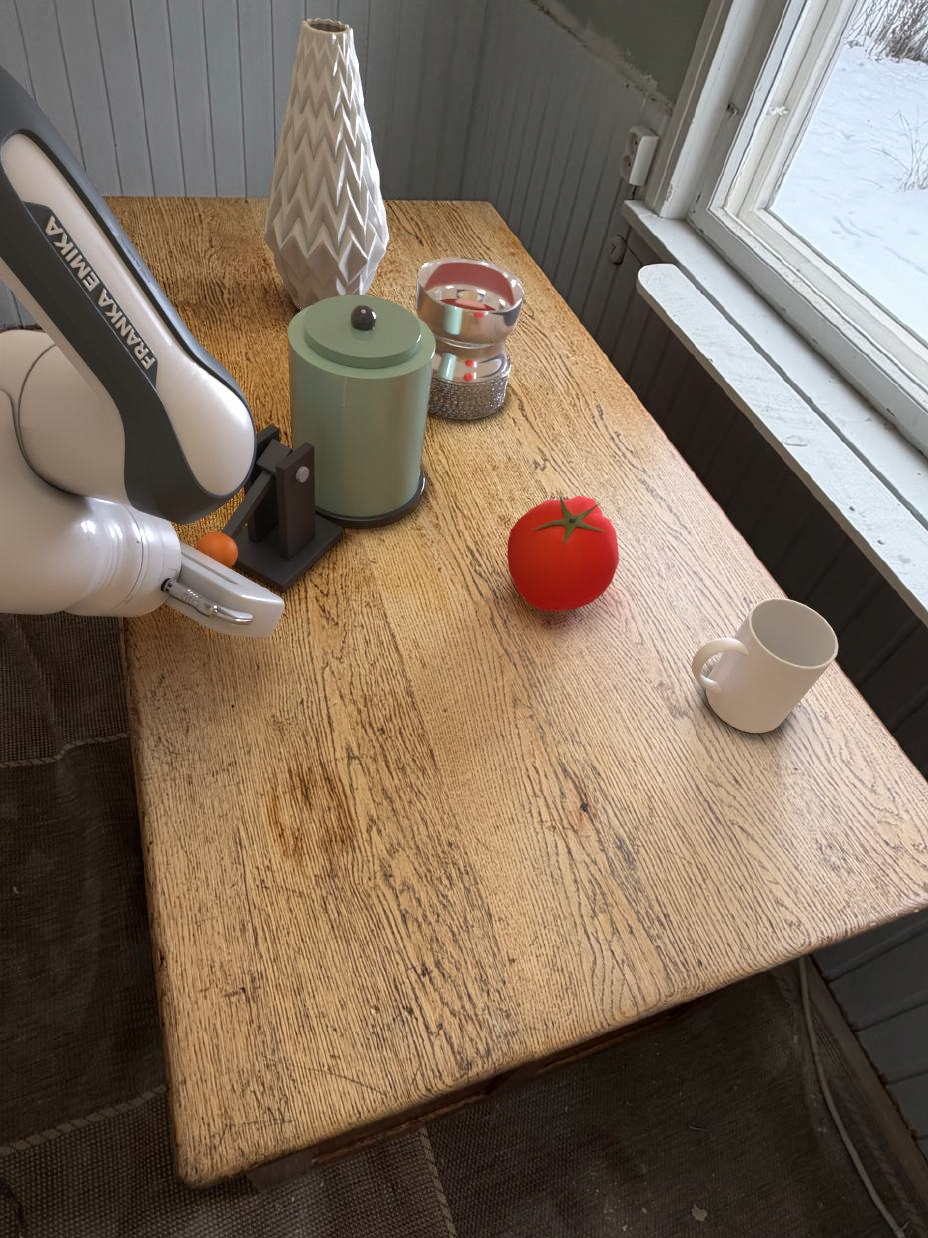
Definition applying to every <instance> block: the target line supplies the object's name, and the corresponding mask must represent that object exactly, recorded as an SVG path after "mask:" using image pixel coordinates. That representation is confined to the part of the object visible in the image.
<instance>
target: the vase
mask: <svg viewBox="0 0 928 1238" xmlns="http://www.w3.org/2000/svg"><path fill="white" fill-rule="evenodd" d="M300 29H301V30H300V34H299V36H298V42H297V46H296V52H295V61H294V63H293V66H292V70H291V77H290V87H289V96H288V99H287V104H286V108H285V112H284V116H283V120H282V127H281V130H280V134H279V141H278V144H277V145H278V146H277V151H276V155H275V157H274V164H273V173H272V177H271V182H270V187H269V191H268V195H267V202H266V210H265V214H264V219H263V227H264V231H263V241H264V242H265V243H266V245H267V246H268V248H269V249H270V251H271V252H272V254H273V260H274V265H275V268H276V270H277V273H278V274H279V276H280V278H281V280H282V283H283V284H284V286H285V288H286V290H287V291H288V294H289V295H290V298H291V300H292V303H293V304H294V306H295V307H296V308H297V309H298V310H299V312H300V311H302V310H303V309H305V308H307V307H309V306H311V305H314V304H315V303H317V302H319V301H321V300H324V299H326V298H330V297H334V296H340V295H367V294H368V293H369V291H370V288H371V286H372V283H373V282H374V279H375V277H376V272H377V269H378V267H379V263H380V262H381V261H382V260H383V258H384V256H385V255H386V251H387V245H388V244H389V241H390V234H389V233H390V232H389V228H388V227H389V226H388V224H387V212H386V207H385V204H384V201H383V197H382V193H381V189H380V171H379V168H378V165H377V161H376V157H375V152H374V148H373V144H372V132H371V128H370V125H369V121H368V117H367V113H366V109H365V98H364V95H363V94H364V93H363V86H362V79H361V75H360V69H359V68H360V65H359V61H358V57H357V53H356V49H355V41H354V29H353V28H352V27H350V25H349V24H347V23H342V22H341V21H340V20H337V21H336V20H335V21H333V20H332V19H330V18H326V19H322V18H320V17H316V18H315V19H313V18H307V19H306V20H302V22H301V28H300ZM294 301H295V302H297V303H298V304H299V305H298V304H297V303H295V302H294ZM300 307H301V308H300ZM302 308H303V309H302Z"/></svg>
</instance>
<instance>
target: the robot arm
mask: <svg viewBox="0 0 928 1238" xmlns="http://www.w3.org/2000/svg"><path fill="white" fill-rule="evenodd" d="M0 280H1V281H2V282H3V283H4V284H5V285H6V286H7V288H8V289H9V291H11V292H12V294H13V295H14V296H15V297H16V298H17V300H19V302H20V303H21V304H22V306H23V307H24V308H25V309H26V310H27V311H28V313H29V314H30V315H31V316H32V318H33V319H34V321H36V322H37V324H38V325H39V326H40V327H41V329H42V330H43V331H44V332H43V331H35V330H29V329H24V328H11V329H4V330H2V331H0V613H1V614H14V615H36V616H37V615H39V616H40V615H42V616H43V615H51V614H56V613H58V612H59V613H60V612H62V611H63V612H65V613H68V614H71V615H76V616H82V617H106V618H107V617H109V618H110V617H111V618H113V617H114V618H138V617H141V616H145V615H147V614H151V613H152V612H154V611H156V609H158V608H159V607H161V606H162V605H163V604H166V605H167V606H168V607H170V608H172V609H174V610H176V611H177V612H179V613H181V614H182V615H184V616H186V617H187V618H189V619H190V620H192V621H194V622H196V623H197V624H199V625H201V626H203V627H204V628H206V629H209V630H211V631H213V632H216V633H218V634H223V635H226V636H231V637H235V638H236V637H237V638H245V639H257V640H265V639H268V638H270V637H271V636H272V635H273V633H274V631H275V630H276V628H277V626H278V624H279V622H280V621H281V618H282V616H283V613H284V610H285V602H284V600H283V599H282V597H280V596H279V595H277V594H275V593H273V592H272V591H270V589H268V588H266V587H264V586H263V585H262V584H259V583H258V582H254V581H253V580H251V579H249V578H247V577H245V576H244V575H242V574H240V573H239V572H236V571H235V570H233V569H231V568H228V567H226V566H224V565H222V564H221V563H219V562H217V561H215V560H214V559H212V558H210V557H208V556H207V555H205V554H203V553H201V552H200V551H198V550H196V548H194V547H193V546H191V545H189V544H188V543H187V542H185V541H183V540H182V539H180V538H179V537H178V533H177V532H176V530H175V528H174V526H173V525H172V523H174V524H176V525H191V524H194V523H196V522H198V521H200V520H202V519H204V518H206V517H208V516H210V515H211V514H214V513H215V512H216V511H218V510H220V509H221V508H222V507H224V506H225V505H226V504H227V503H229V501H231V500H232V499H233V498H235V496H236V495H237V494H238V493H240V491H241V490H242V489H243V486H244V485H245V483H246V482H247V480H248V478H249V476H250V474H251V472H252V469H253V466H254V462H255V457H256V450H257V435H256V434H257V426H256V422H255V419H254V415H253V412H252V410H251V408H250V404H249V402H248V400H247V398H246V397H245V394H244V392H243V391H242V389H241V388H240V385H239V384H238V382H237V381H236V379H235V378H234V377H233V376H232V374H231V373H230V371H229V370H228V369H227V367H226V366H225V365H224V364H223V363H222V362H220V361H219V359H217V358H216V357H215V356H214V355H212V354H211V352H209V351H208V350H207V349H206V348H205V347H204V346H203V345H202V344H201V343H200V342H199V341H198V340H197V338H196V337H195V336H194V335H193V333H192V332H191V330H189V328H188V327H187V325H186V324H185V322H184V320H183V319H182V318H181V316H180V315H179V313H178V312H177V310H176V309H175V307H174V306H173V304H172V302H171V301H170V299H169V298H168V296H167V295H166V293H165V292H164V290H163V289H162V287H161V286H160V284H159V282H158V281H157V279H156V277H155V276H154V275H153V273H152V272H151V270H150V269H149V267H148V265H147V264H146V262H145V261H144V259H143V258H142V256H141V254H140V253H139V251H138V250H137V248H136V246H135V245H134V244H133V242H132V240H131V239H130V238H129V236H128V235H127V233H126V231H125V229H124V228H123V227H122V225H121V224H120V222H119V221H118V219H117V217H116V216H115V215H114V213H113V211H112V210H111V208H110V206H109V205H108V204H107V202H106V201H105V199H104V198H103V196H102V195H101V193H100V191H99V189H98V188H97V187H96V185H95V184H94V182H93V181H92V179H91V178H90V176H89V174H88V173H87V172H86V170H85V169H84V167H83V166H82V164H81V163H80V161H79V159H78V158H77V157H76V156H75V154H74V152H73V151H72V149H71V148H70V147H69V145H68V144H67V142H66V141H65V139H64V138H63V137H62V135H61V134H60V132H59V131H58V129H57V128H56V126H55V125H54V124H53V122H52V121H51V120H50V118H49V117H48V116H47V115H46V113H45V112H44V110H43V109H42V108H41V106H40V105H39V104H38V103H37V101H35V99H34V98H33V97H32V96H31V94H30V93H29V92H28V91H27V90H26V88H24V86H23V85H22V84H21V82H19V81H18V80H17V79H16V78H15V77H14V76H13V75H12V74H11V73H10V72H9V71H8V70H6V68H5V67H4V66H3V65H1V64H0Z"/></svg>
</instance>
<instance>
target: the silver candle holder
mask: <svg viewBox="0 0 928 1238" xmlns="http://www.w3.org/2000/svg"><path fill="white" fill-rule="evenodd" d="M415 287H416V288H415V295H414V307H415V313H416V316H417V317H418V318H419V319H421V320H422V321H423V322H424V323H425V324H426V325H427V326H428V327H429V329H430V330H431V332H432V333H433V335H434V338H435V344H436V347H435V355H434V364H433V372H432V380H431V388H430V397H429V405H428V414H432V415H434V416H436V417H439V418H442V419H446V420H453V421H475V420H481V419H485V418H487V417H489V416H492V415H494V414H495V413H497V411H499V410H500V409H501V408H502V406H503V404H504V401H505V396H506V392H507V388H508V382H509V377H510V372H511V367H512V359H511V356H510V354H509V352H508V350H507V346H506V342H507V339H508V338H509V337H510V336H511V334H513V332H514V331H515V330H516V328H517V326H518V324H519V321H520V318H521V312H522V308H523V303H524V299H525V288H524V285H523V283H522V281H521V279H519V277H518V276H516V274H514V273H512V272H511V271H510V270H508V269H506V268H505V267H503V266H501V265H499V264H496V263H494V262H491V261H488V260H484V259H480V258H474V257H466V256H447V257H440V258H436V259H433V260H431V261H429V262H427V263H424V265H422V267H421V268H420V269H419V271H418V272H417V276H416V286H415Z"/></svg>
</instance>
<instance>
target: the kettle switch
mask: <svg viewBox="0 0 928 1238" xmlns="http://www.w3.org/2000/svg"><path fill="white" fill-rule="evenodd" d="M292 452H293V450H292V447H290V446H288V445H286V444H284V443H283V442H281V441H280V442H278V441H276V440H274V439H272V441H271V442H270V443H269V445H268V446H267V448H266V449H265V451H264V452H263V454H262V455H261V457H260V458H259V460H258V461H257V462H256V464H257V465H258V466H259V468H260V469H261V470H262V472H261V474H260V475H259V477H258V478H257V480H256V481H255V483H254V484H253V486H252V487H251V488H250V490H249V491H248V493H247V494H246V496H245V497H244V496H243V499H242V500H241V501H240V503H239V504H238V506H237V508H236V509H235V510H234V512H233V513H232V515H231V516H230V518H229V519H228V521H227V522H226V524H225V525H224V527H223V528H222V529H221V531H212V532H208V533H205V534H204V535H203V536H201V538H200V539H199V540H198V542H197V544H196V546H195V549H196V550H198V551H200V552H201V553H203V554H205V555H207V556H208V557H210V558H212V559H214V560H215V561H217V562H219V563H221V564H222V565H224V566H226V567H228V568H230V569H231V568H232V567H234V563H235V562H236V560H237V556H238V548H237V545H236V543H235V539H236V538H237V536H238V535H239V533H240V532H241V530H242V529H243V528H244V527H245V526H246V525H247V521H248V520H249V518H250V517H251V515H252V514H253V512H254V511H255V509H256V508H257V507H258V505H259V504H260V502H261V501H262V499H263V498H264V496H265V495H266V493H267V492H268V490H269V489H270V487H271V486H272V484H273V483H274V481H275V480H276V467H275V466H276V464H278V463H279V462H280V461H282V460H283V459H284V458H286V457H287V456H288V455H289V454H291V453H292Z"/></svg>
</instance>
